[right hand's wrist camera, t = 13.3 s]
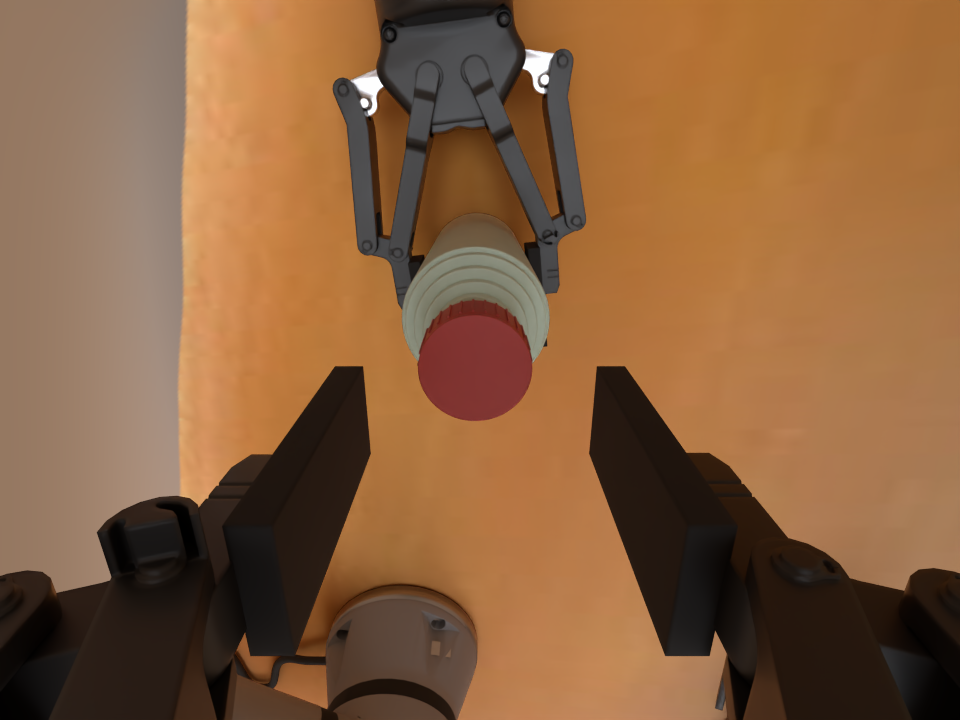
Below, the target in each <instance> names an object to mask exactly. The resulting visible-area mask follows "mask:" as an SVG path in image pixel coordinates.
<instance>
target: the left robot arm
mask: <svg viewBox="0 0 960 720" xmlns="http://www.w3.org/2000/svg"><path fill="white" fill-rule="evenodd" d="M375 5H376V12H377V18H378V24H379V31H380V37H381V49H380V54H379V58H378V61H377V66H376V69H375V70H373V71H371V72H368V73H366V74H364V75H361V76H359V77H357V78H354V79H352V80H348V79H346V78H339V79H337V80H336V81H335V83H334V84H333V93H334V96H335V98H336V100H337V103H338V105H339V107H340V110H341V112H342V114H343V117H344V119H345V122H346V124H347V133H348V145H349V156H350V167H351V178H352V189H353V200H354V212H355V223H356V234H357V245H358V249H359V251H360V252H361V253H362V254H364V255H374V256H378V257H382V258H385V259H386V260H388V261H389V262H390V264H391V266H392V271H393V276H394V282H395V288H396V293H397V299H398V304H399V305H400V307H401V309H403V303H404V299H405V295H406V293H407V290H408V288H409V286H410V284H411V282H412V281H413V279H414V277H415V275H416V274H417V272H418V270H419V268H420V267H421V265H422V263H423V261H424V260H425V258H424V255H418V256H413V257H412V252H411V251H412V249H413V248H412V246H413V240H414V235H415V230H416V224H417V219H418V214H419V208H420V203H421V198H422V193H423V187H424V182H425V177H426V171H427V166H428V161H429V155H430V151H431V148H432V143H433V138H434V135H438V134H446V133H449V132H451V131H454V130H456V129H458V128H462V129H468V130H478V129H485V127H486V129H487V131H488V133H489V135H490V138H491V140H492V142H493V144H494V146H495V148H496V150H497V152H498V154H499V157H500V159H501V161H502V163H503V165H504V168H505V170H506V172H507V174H508V177H509V179H510V181H511V183H512V185H513V188H514V190H515V192H516V194H517V196H518V199H519V201H520V203H521V205H522V207H523V210H524V212H525V214H526V216H527V218H528V221H529V223H530V225H531V227H532V230H533V232H534V234H535V241H536V242H528V243H524V248H525V255H526V257H527V259H528V261H529V263H530V265H531V266H532V268H533V270H534V272H535V274H536V276H537V278H538V280H539V281H540V283H541V285H542V287H543V290H544V292H545V294H549V293H557V291H558V288H559V285H560V284H559V270H558V269H559V268H558V252H557V245H558V242H559V241H560V239H561V238H562V237H564V236H565V235H567V234H569V233H571V232H573V231H578V230H580V229H582V228H583V227H584V225H585V223H586V215H585V209H584V202H583V195H582V189H581V182H580V175H579V169H578V162H577V155H576V149H575V142H574V135H573V129H572V122H571V115H570V109H569V102H568V91H569V85H570V79H571V73H572V67H573V56H572V54H571V53H570V52H569V50H566V49H560V50H558V51H556V52H555V53H547V52H540V51H533V50H526V49H525V46H524V44H523V42H522V40H521V38H520V37H519V35H518V33H517V30H516V27H515V23H514V14H513V2H512V0H375ZM521 72H524V73H526V74H528V75H529V77H530V79H531V84H532V89H533V91H534V92H535V93H536V94H538V95H542V109H543V117H544V123H545V129H546V135H547V141H548V147H549V153H550V159H551V165H552V171H553V177H554V183H555V189H556V195H557V200H558V206H559V212H560V213H559V214H557V215H555V216H553V217H551V216H550V214H549V212H548V210H547V207H546V205H545V203H544V200H543V198H542V196H541V194H540V191H539V189H538V187H537V184H536V182H535V180H534V178H533V175H532V173H531V171H530V168H529V166H528V164H527V162H526V159H525V157H524V155H523V152H522V150H521V148H520V146H519V143H518V141H517V139H516V136H515V134H514V131H513V128H512V125H511V123H510V121H509V118H508V116H507V114H506V112H505V109H504V107H503V106H504V104H505V102H506V100H507V98H508V96H509V94H510V92H511V90H512V88H513V87H514V85H515V83H516V81H517V79H518V77H519V75H520V73H521ZM384 90H387V91H388V92H389V93H390V95H391V96H392V97H393V98H394V99H395V100H396V101H397V103H398V104H399V105H400V106H401V107H402V108H403V109H404V111H405V112H406V113H407V114H408V115H409V116H410V120H409V126H408V132H407V138H406V150H405V156H404V162H403V168H402V173H401V179H400V185H399V191H398V197H397V202H396V208H395V214H394V220H393V226H392V231H391V236H387V235H383V225H382V211H381V197H380V183H379V169H378V155H377V141H376V131H375V125H374V121H373V118H372V117H374V116H375V115H377V114H378V112H379V110H380V104H379V97H380V94H381V93H382V92H383V91H384ZM545 346H547V338H546V341H545V343H544V346H543V347H545Z"/></svg>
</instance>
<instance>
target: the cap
mask: <svg viewBox="0 0 960 720" xmlns="http://www.w3.org/2000/svg"><path fill="white" fill-rule="evenodd" d="M530 350H531V348H530V345H529V342H528V338H527V335H525V332H524V329H523V326H522V325H520V324H519V322H518V321H517V318H516V316H513V315H512V314H511V313H510V312H508V309H507V308H506V309H504V308H502V307H501V306H499V305H498V303H495V304H494V303H491V302H487V301H486V300H484V301H481V300H474V299H472V300H470V301H464V302H463V300H462V301H460V303H457V304H454V305H449V307H448V308H446V309H445V310H444V311H440V313H439V315H438V316H437V317H436V318H435V319H432V321H431V325H430V326H429V328H427V329H426V332H425V335H424V338H423V341H422V344H421V347H420V350H419V354H420V356H419V361H418V374H419V379H420V383H421V386H422V388H423V390H424V392H425V394H426V395H427V397H428V398H429V400H430V401H431V402H432V403H433V404H434V405H435V406H436V407H437V408H439V409H440V410H441V411H443V412H445V413H446V414H448V415H450V416H453V417H455V418H458V419H462V420H468V421H482V420H488V419H492V418H495V417H498V416H500V415H502V414H504V413H506V412H507V411H509V410H510V409H512V408H513V407H514V406H515V405H516V404H517V403H518V402H519V401H520V400H521V399H522V397H523V396H524V394H525V393H526V391H527V389H528V386H529V384H530V380H531V376H532V362H533V359H532V356H531V352H530Z"/></svg>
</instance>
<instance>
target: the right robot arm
mask: <svg viewBox="0 0 960 720" xmlns="http://www.w3.org/2000/svg"><path fill="white" fill-rule="evenodd" d="M370 454H371V451H370V440H369V429H368V417H367V406H366V395H365V383H364V372H363V366H335V367H334V369H333V370H332V372H331V373H330V374H329V376H328V377H327V379H326V380H325V381H324V383H323V384H322V386H321V387H320V388H319V390H318V391H317V393H316V394H315V395H314V397H313V398H312V400H311V401H310V403H309V404H308V405H307V407H306V408H305V410H304V411H303V412H302V414H301V415H300V417H299V418H298V419H297V421H296V422H295V424H294V425H293V426H292V428H291V429H290V431H289V432H288V433H287V435H286V436H285V438H284V439H283V441H282V442H281V443H280V445H279V446H278V448H277V449H276V450H275V452H274V453H273V455H250V456H248V457H247V458H245V459H244V460H242V461H241V462H239V463H238V464H236V465H235V466H233V467H232V468H231V469H230V470H229V471H228V472H227V474H226V475H225V476H224V477H223V479H222V480H221V481H220V482H219V486H216V487H215V488H214V490H213V491H212V492H211V493H210V495H209V498H208V499H205V501H204V502H203V503H202V504H201V506H200V507H199V508H198V504H196V503H195V502H194V501H193V500H191V499H190V498H185V497H180V496H168V497H158V498H154V499H151V500H147V501H143V502H139V503H137V504H135V505H133V506H130V507H128V508H126V509H124V510H122V511H120V512H119V513H117V514H116V515H114V516H113V517H112V518H110V519H108V520H107V521H106V522H105V523H104V524H103V526H102V527H101V528H100V529H99V530H98V532H97V534H98V537H99V540H100V543H101V546H102V549H103V552H104V555H105V558H106V562H107V565H108V568H109V571H110V574H111V580H110V581H107V582H103V583H99V584H95V585H90V586H86V587H82V588H77V589H73V590H68V591H63V592H59V593H56V591H55V588H54V586H53V583H52V580H51V578H50V577H48V576H47V575H46V574H44V573H43V572H38V571H21V572H15V573H10V574H5V575H2V576H0V720H457V719H458V716H459V713H460V710H461V708H462V705H463V702H464V699H465V697H466V694H467V691H468V688H469V686H470V683H471V680H472V677H473V675H474V671H475V667H476V663H477V635H476V631H475V628H474V626H473V623H472V622H471V620H470V618H469V617H468V615H467V614H466V613H465V612H464V611H463V609H462V608H460V607H459V606H458V605H457V604H456V603H454V602H453V601H452V600H450V599H448V598H447V597H445V596H443V595H441V594H439V593H436V592H434V591H431V590H428V589H424V588H420V587H414V586H387V587H381V588H377V589H373V590H370V591H367V592H365V593H362V594H360V595H359V596H357V597H355V598H353V599H352V600H351V601H349V602H348V603H347V604H346V605H345V606H344V607H343V608H342V609H341V610H340V611H339V613H338V614H337V616H336V617H335V619H334V621H333V624H332V627H331V630H330V633H329V636H328V640H327V644H326V657H310V656H300V655H295V654H296V651H297V649H298V646H299V643H300V641H301V638H302V635H303V633H304V630H305V627H306V625H307V622H308V619H309V617H310V614H311V611H312V609H313V606H314V603H315V601H316V598H317V595H318V593H319V590H320V587H321V585H322V582H323V579H324V577H325V574H326V571H327V569H328V566H329V563H330V561H331V558H332V555H333V553H334V550H335V547H336V545H337V542H338V539H339V537H340V534H341V531H342V529H343V526H344V523H345V521H346V518H347V515H348V513H349V510H350V507H351V505H352V502H353V499H354V497H355V494H356V491H357V489H358V486H359V483H360V481H361V478H362V475H363V473H364V470H365V467H366V465H367V462H368V459H369V457H370ZM589 454H590V457H591V459H592V462H593V465H594V467H595V470H596V473H597V475H598V478H599V481H600V483H601V486H602V489H603V491H604V494H605V497H606V499H607V502H608V505H609V507H610V510H611V513H612V515H613V518H614V521H615V523H616V526H617V529H618V531H619V534H620V537H621V539H622V542H623V545H624V547H625V550H626V553H627V555H628V558H629V561H630V563H631V566H632V569H633V571H634V574H635V577H636V579H637V582H638V585H639V587H640V590H641V593H642V595H643V598H644V601H645V603H646V606H647V609H648V611H649V614H650V617H651V619H652V622H653V625H654V627H655V630H656V633H657V635H658V638H659V641H660V643H661V646H662V649H663V651H664V654H665V656H710V651H711V647H712V642H713V638H714V633H715V631H716V633H717V635H718V637H719V639H720V641H721V643H722V645H723V647H724V649H725V651H726V653H727V656H726V660H725V665H724V669H723V673H722V677H721V681H720V686H719V690H718V694H717V699H716V706H715V708H716V709H719V710H723V706H724V702H725V699H726V708H727V717H728V720H960V573H957V572H953V571H947V570H942V569H936V568H931V569H920V570H918V571H916V572H915V573H913V574H912V575H911V576H910V578H909V580H908V583H907V586H906V588H905V591H903V590H898V589H893V588H889V587H884V586H880V585H875V584H871V583H866V582H862V581H858V580H854V579H851V578H849V576H848V575H847V574H846V572H845V571H844V569H843V568H842V567H841V565H840V564H839V563H838V562H836V561H835V560H834V559H833V558H831V557H830V556H829V555H828V554H826V553H825V552H823V551H821V550H819V549H817V548H815V547H813V546H811V545H809V544H807V543H803V542H800V541H797V540H793V539H790V538H788V537H787V536H786V535H785V534H784V532H783V531H782V530H781V529H780V528H779V526H778V525H777V524H776V523H775V521H774V520H773V519H772V518H771V517H770V515H769V514H768V513H767V512H766V511H765V509H764V508H763V507H762V506H761V504H760V503H759V502H758V501H757V500H756V498H755V497H752V493H751V492H750V491H749V490H748V489H747V487H746V486H745V485H744V484H742V483H741V480H740V479H739V478H738V476H737V475H736V474H735V473H734V472H733V470H732V469H731V468H730V467H729V466H728V465H727V464H725V463H724V462H722V461H721V460H719V459H717V458H716V457H714V456H713V455H711V454H710V453H686V452H685V450H684V449H683V448H682V446H681V445H680V443H679V442H678V441H677V439H676V438H675V436H674V435H673V433H672V432H671V431H670V429H669V428H668V426H667V425H666V424H665V422H664V421H663V419H662V418H661V417H660V415H659V414H658V412H657V411H656V410H655V408H654V407H653V405H652V404H651V403H650V401H649V400H648V398H647V397H646V395H645V394H644V393H643V391H642V390H641V388H640V387H639V386H638V384H637V383H636V381H635V380H634V379H633V377H632V376H631V374H630V373H629V372H628V370H627V369H626V367H625V366H597V372H596V383H595V394H594V406H593V417H592V429H591V440H590V451H589ZM244 633H246V638H247V642H248V647H249V651H250V656H281V657H280V658H278V659H277V660H276V661H275V663H274V665H273V669H272V674H271V680H270V682H269V683H267V684H259V683H257V682H255V681H253V680H252V679H251V678H250V677H249V676H248V674H247V673H246V671H245V669H244V668H243V666H242V664H241V662H240V661H239V659H238V658H237V656H236V655H235V654H234V653H235V651H236V649H237V647H238V645H239V643H240V641H241V639H242V637H243V635H244ZM284 663H297V664H304V665H326V674H327V696H328V708H327V709H325V708H322V707H320V706H318V705H315V704H312V703H310V702H307V701H304V700H302V699H299V698H296V697H294V696H291V695H288V694H286V693H283V692H280V691H278V690H275V689H273V688H274V687H275V686H276V684H277V681H278V676H279V670H280V667H281V665H282V664H284Z"/></svg>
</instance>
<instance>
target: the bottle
mask: <svg viewBox="0 0 960 720" xmlns="http://www.w3.org/2000/svg"><path fill="white" fill-rule="evenodd" d="M472 299H474V300H481V301H484V300H486V301H487V302H491V303H494V304H495V303H498V305H499V306H501V307H502V308H504V309H506V308H507V309H508V312H510V313H511V314H512V315H513V316H516V318H517V321H518V322H519V324H520V325H522V326H523V329H524V332H525V335H527V338H528V342H529V345H530V348H531V350H530V352H531V356H532V359H533V362H534V361H535V359H536V358H537V356H538V355H539V353H540V352H541V350H542V348H543V346H544V343H545V341H546V338H547V334H548V330H549V321H550V317H549V306H548V301H547V298H546V294H545V292H544V290H543V287H542V285H541V283H540V281H539V280H538V278H537V276H536V274H535V272H534V270H533V268H532V266H531V265H530V263H529V261H528V259H527V257H526V255H525V253H524V252H523V250H522V248H521V246H520V244H519V242H518V240H517V238H516V237H515V235H514V233H513V232H512V230H511V229H510V228H509V227H508V226H507V225H506V224H505V223H504V222H503V221H501V220H500V219H498V218H496V217H494V216H491V215H488V214H483V213H470V214H465V215H462V216H459V217H457V218H455V219H453V220H452V221H451V222H449V223H448V224H447V225H446V226H445V227H444V228H443V229H442V231H441V232H440V234H439V235H438V237H437V239H436V240H435V242H434V244H433V246H432V247H431V249H430V251H429V253H428V254H427V256H426V258H425V260H424V261H423V263H422V265H421V267H420V268H419V270H418V272H417V274H416V275H415V277H414V279H413V281H412V282H411V284H410V286H409V288H408V290H407V293H406V295H405V299H404V303H403V309H402V325H403V332H404V336H405V339H406V342H407V344H408V347H409V349H410V351H411V352H412V354H413V356H414V357H415V358H416V360H417V361H419V356H420V354H419V350H420V347H421V344H422V341H423V338H424V335H425V332H426V329H427V328H429V326H430V325H431V321H432V319H435V318H436V317H437V316H438V315H439V313H440V311H444V310H445V309H446V308H448V307H449V305H454V304H457V303H460V301H462V300H463V302H464V301H470V300H472ZM533 362H532V363H533Z"/></svg>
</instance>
